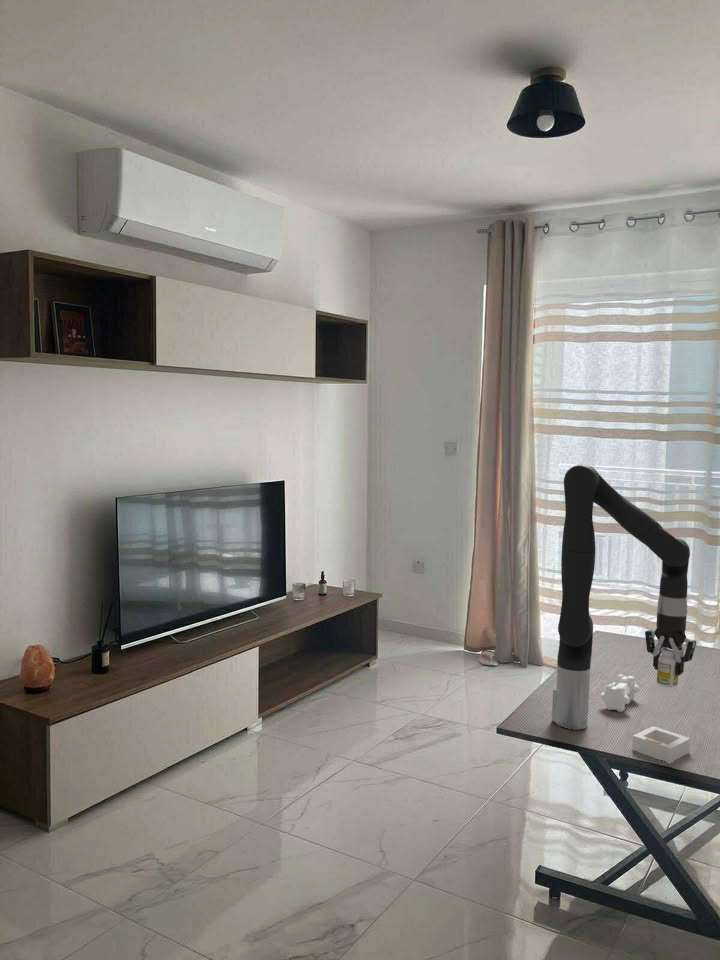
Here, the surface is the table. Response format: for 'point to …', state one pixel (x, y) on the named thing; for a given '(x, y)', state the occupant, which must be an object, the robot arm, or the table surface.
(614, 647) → the table surface
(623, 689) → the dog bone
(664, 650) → the supplement bottle
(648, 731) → the socket block
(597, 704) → the table surface
